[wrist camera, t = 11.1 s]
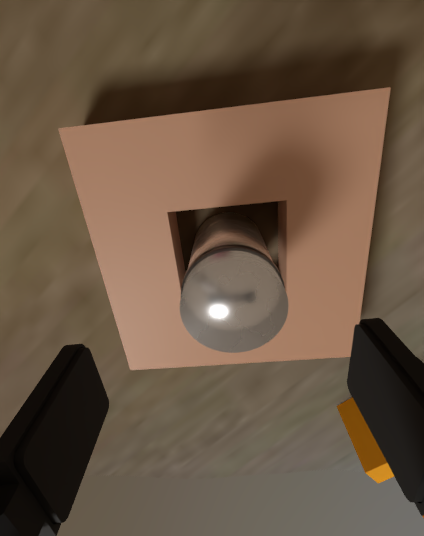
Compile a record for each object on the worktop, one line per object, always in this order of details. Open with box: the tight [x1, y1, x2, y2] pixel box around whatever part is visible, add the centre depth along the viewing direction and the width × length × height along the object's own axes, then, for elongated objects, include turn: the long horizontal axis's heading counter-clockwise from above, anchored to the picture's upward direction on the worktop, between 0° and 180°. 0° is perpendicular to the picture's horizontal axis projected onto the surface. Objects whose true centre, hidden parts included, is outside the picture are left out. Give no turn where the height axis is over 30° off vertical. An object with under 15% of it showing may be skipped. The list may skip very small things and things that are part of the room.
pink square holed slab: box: [59, 87, 391, 370], centre depth 20 cm, size 18×18×3 cm
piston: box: [180, 212, 289, 353], centre depth 18 cm, size 5×5×9 cm
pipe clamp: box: [337, 397, 424, 517], centre depth 27 cm, size 12×4×6 cm, turn 45°
